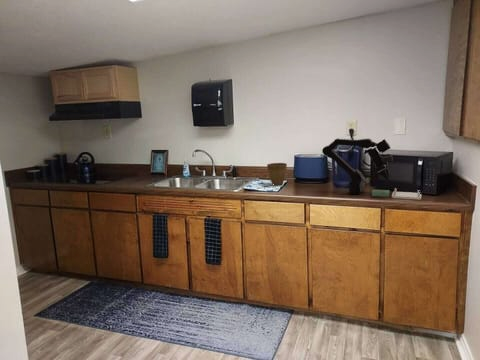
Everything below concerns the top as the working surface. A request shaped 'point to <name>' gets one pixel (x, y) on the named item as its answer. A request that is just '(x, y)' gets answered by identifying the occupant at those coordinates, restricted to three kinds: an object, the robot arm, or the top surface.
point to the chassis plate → (406, 195)
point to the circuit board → (380, 193)
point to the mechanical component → (364, 182)
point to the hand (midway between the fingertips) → (388, 178)
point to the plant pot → (277, 172)
